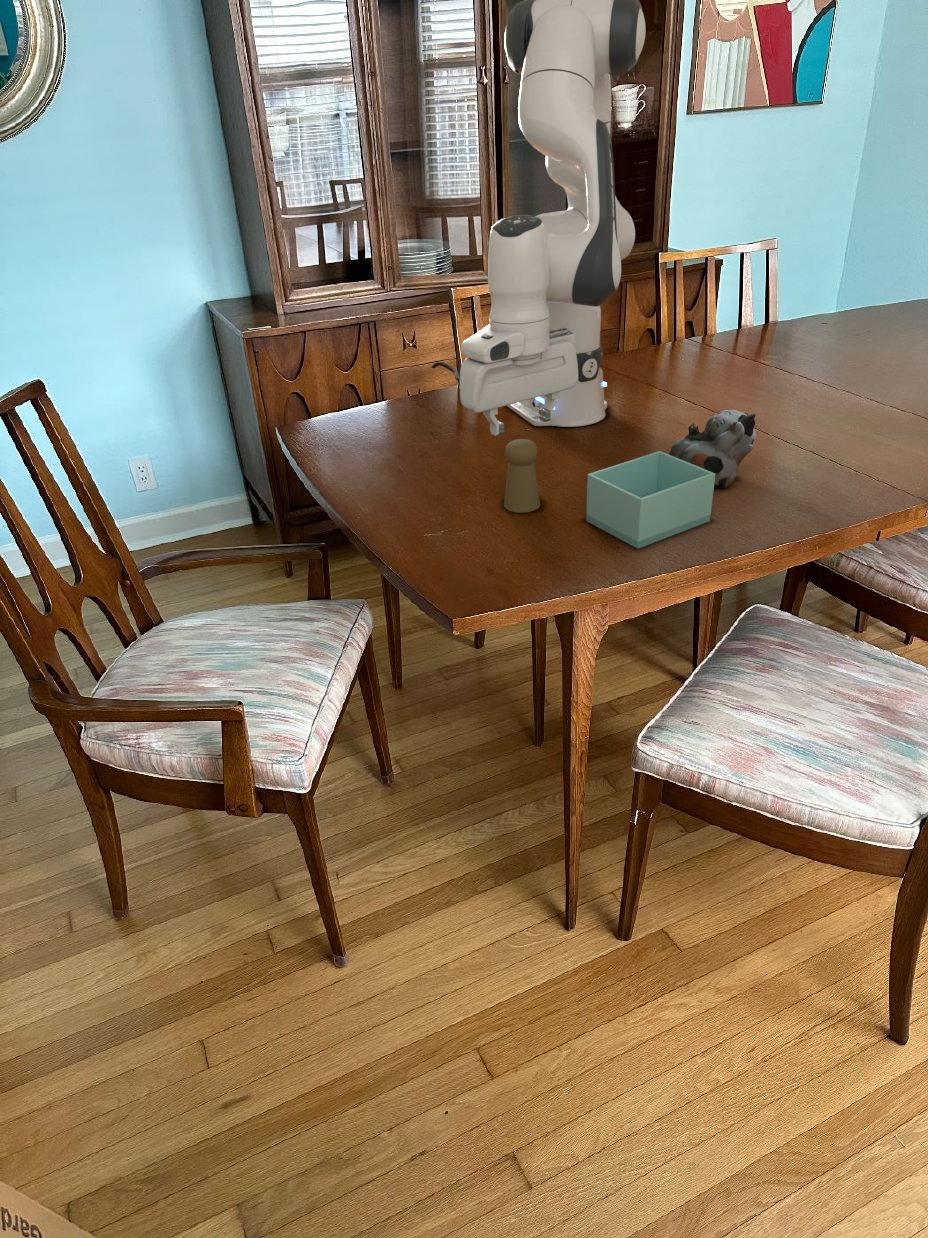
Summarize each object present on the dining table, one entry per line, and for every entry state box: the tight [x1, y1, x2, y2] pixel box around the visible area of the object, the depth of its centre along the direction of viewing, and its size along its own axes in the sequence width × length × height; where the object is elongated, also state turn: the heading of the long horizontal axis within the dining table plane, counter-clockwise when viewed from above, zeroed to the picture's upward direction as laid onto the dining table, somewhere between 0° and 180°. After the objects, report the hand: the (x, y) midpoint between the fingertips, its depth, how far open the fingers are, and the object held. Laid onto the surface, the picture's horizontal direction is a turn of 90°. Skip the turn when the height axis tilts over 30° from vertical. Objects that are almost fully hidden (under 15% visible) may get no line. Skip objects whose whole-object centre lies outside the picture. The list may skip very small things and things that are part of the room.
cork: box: [503, 438, 541, 514], centre depth 139 cm, size 6×6×11 cm
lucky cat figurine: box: [668, 409, 757, 489], centre depth 145 cm, size 15×12×14 cm
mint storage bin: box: [585, 450, 715, 549], centre depth 132 cm, size 8×15×12 cm
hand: (521, 426), depth 134 cm, fingers open, 8 cm apart
